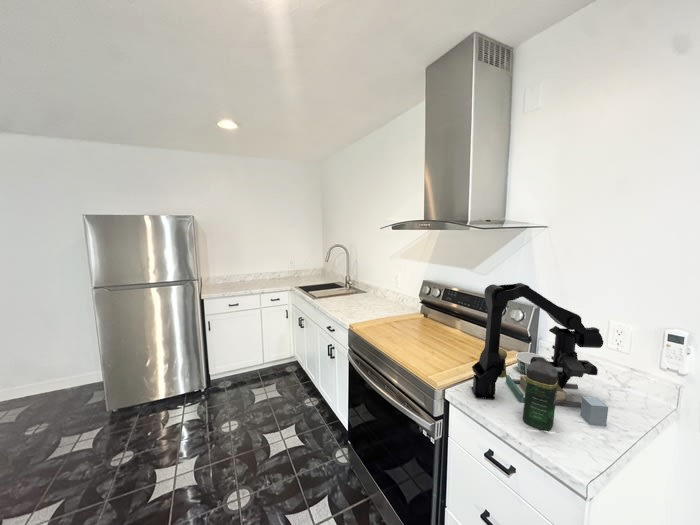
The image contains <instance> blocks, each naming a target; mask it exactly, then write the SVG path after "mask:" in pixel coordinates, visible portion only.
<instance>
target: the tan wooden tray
mask: <svg viewBox="0 0 700 525" xmlns="http://www.w3.org/2000/svg"><path fill="white" fill-rule="evenodd" d="M519 378H520V379H519V380H520V385H519V386H520V388H521V389H522V390H523V391H524V392H525V387H526V375H525V374H522V375H521V374H520V376H519ZM566 395H567V392H566V391H565V390H564V388H563V389H562V388H561V387H560V386H559V385H558V384H557V395H556V400H561V401H566V399H567V397H566Z"/></svg>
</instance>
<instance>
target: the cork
mask: <svg viewBox="0 0 700 525" xmlns="http://www.w3.org/2000/svg"><path fill="white" fill-rule="evenodd" d="M499 354H500V355H501V356H502V357H503V358H504V359H505V360H506V359H507V357H508V352H507V351H506V350H505V349H504V348H500V347H499ZM504 370H505V371H503V370H502V374H501V376H499V377H498V378H506V375H507V366H506V362H505V363H504Z"/></svg>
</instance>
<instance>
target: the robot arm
mask: <svg viewBox="0 0 700 525" xmlns="http://www.w3.org/2000/svg"><path fill="white" fill-rule="evenodd" d="M483 294H484V301H485V305H486V309H487V316H486V317H487V318H486V328H485V340H484V341H485V342H484V349H483V350H482V351H481V352H480V355H479V359H478V361H477V362H476V363H474V364H473V365H472V366H471V368H472V371H473V373H474V374H473V380H472V381H473V383H472V384H473V385H472V386H471V391H472V393H473V394H474V397H475V398H476V399H485V400H495V399H496V396H495V395H496V387H497V386H496V383H497V381H498V379H499V378H500V377H499V376H501V374H502V370H503V371H505V370H504V363H506V358H505V359H504V358H503V357H502V356H501V355H500V354H499V348H500V344H501V343H500V342H501V335H502V334H501V332H502V321H503V320H502V319H503V313H504V311H505V310H506V308H507V307H508V302H510V301H515V300H517V299H519V298H523V299H526V300H527V301H528V302H530V303H531V304H533V305H535V306H536V307H538V308H539V309H541V310H542V311H544V312H545V313H546V314H547V315H548V316H549V317H550V319H552V320H553V322H554V323H555V324H558V325H560V326H561V327H562V328H560V327H559V326H557V325H554V326H553V327H551V328H549V330H548V331H549V333H552V334H553V335H555V336H554V344H553V345H552V346H551V348H552V349H553V355H551V358H550V360H551V361H550V360H549V361H546V360H545V359H544V358H543V357H544V356H543V357H532V358H531V361H530V363H532V362H535V361H542V362H546V363H549V364H552V365H553V366H554V367H555V368H556V369H557V371H558V382H557V384H558V385H559V386H560V387H561V388H562V389H563V390H564V389H565V388H564V386H565V385H566V383H568V382H569V380H570V379H571V378H573V377H576V378H577V377H578V378H583V376H584V374H586V375H587V376H598V373H599V372H598V371H599V369H598V367H597V366H596V365H595V364H593V363H592V362H590V361H589V360H585V359H584V360H583V359H579V357H578V352H576V345H577V347H578V348H586V349H587V348H589V349H590V348H591V349H600V348H602V347H603V345H604V340H603V336H602V334H601V332H600V329H599V328H597V327H595V326H593V327H592V326H591V327H586V326H584V324H583V322H582V316H580V314H578V313H575V312H572V311H571V310H568V309H565V308H563V307H561V306H559V305H557V304H556V303H554V302H553V301H551V300H550V299H549V298H546V297H545V296H543V295H542V294H540V293H539V292H537V291H535V290H534V289H532V288H531V287H530V286H529V285H527V284H525V283H522V282H518V283H512V284H511V283H510V284H499V285H498V284H489V285H488V286H487V287H485V289H484V293H483ZM563 327H564V328H563Z"/></svg>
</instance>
